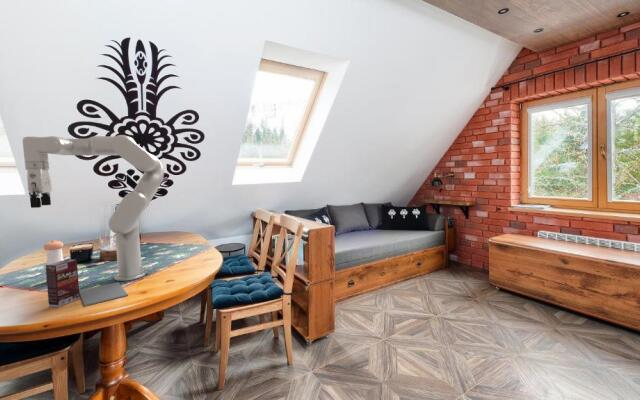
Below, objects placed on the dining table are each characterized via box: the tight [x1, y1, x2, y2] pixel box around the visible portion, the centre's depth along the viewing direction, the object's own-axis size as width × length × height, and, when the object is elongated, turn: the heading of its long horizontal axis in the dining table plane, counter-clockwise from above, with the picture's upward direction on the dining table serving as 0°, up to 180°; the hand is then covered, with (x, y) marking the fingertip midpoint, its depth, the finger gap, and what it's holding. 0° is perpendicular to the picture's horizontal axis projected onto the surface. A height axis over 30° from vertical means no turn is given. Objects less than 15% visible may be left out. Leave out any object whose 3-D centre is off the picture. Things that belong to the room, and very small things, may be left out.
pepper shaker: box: [43, 239, 65, 280], centre depth 143 cm, size 7×7×19 cm
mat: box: [79, 281, 129, 307], centre depth 127 cm, size 14×20×1 cm
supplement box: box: [45, 258, 81, 308], centre depth 119 cm, size 9×5×16 cm, turn 168°
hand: (41, 206), depth 134 cm, fingers open, 9 cm apart
